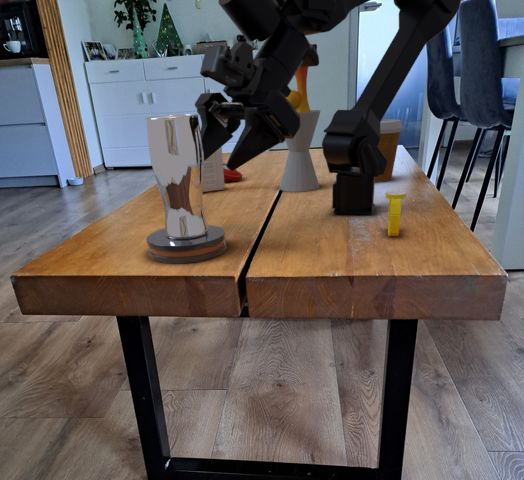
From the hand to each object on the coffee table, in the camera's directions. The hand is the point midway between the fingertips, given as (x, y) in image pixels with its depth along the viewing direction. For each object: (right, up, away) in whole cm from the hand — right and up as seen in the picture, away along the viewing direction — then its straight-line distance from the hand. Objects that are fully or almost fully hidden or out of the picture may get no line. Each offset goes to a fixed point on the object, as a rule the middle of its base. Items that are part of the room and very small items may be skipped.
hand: (211, 165), depth 67 cm
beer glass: (-4, -9, +2) cm, 10 cm away
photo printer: (-6, +10, +42) cm, 43 cm away
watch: (+26, -8, +5) cm, 28 cm away
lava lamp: (+15, +10, +40) cm, 44 cm away
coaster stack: (-4, -11, +3) cm, 12 cm away
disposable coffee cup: (+33, +13, +43) cm, 56 cm away
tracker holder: (-2, +17, +54) cm, 57 cm away
